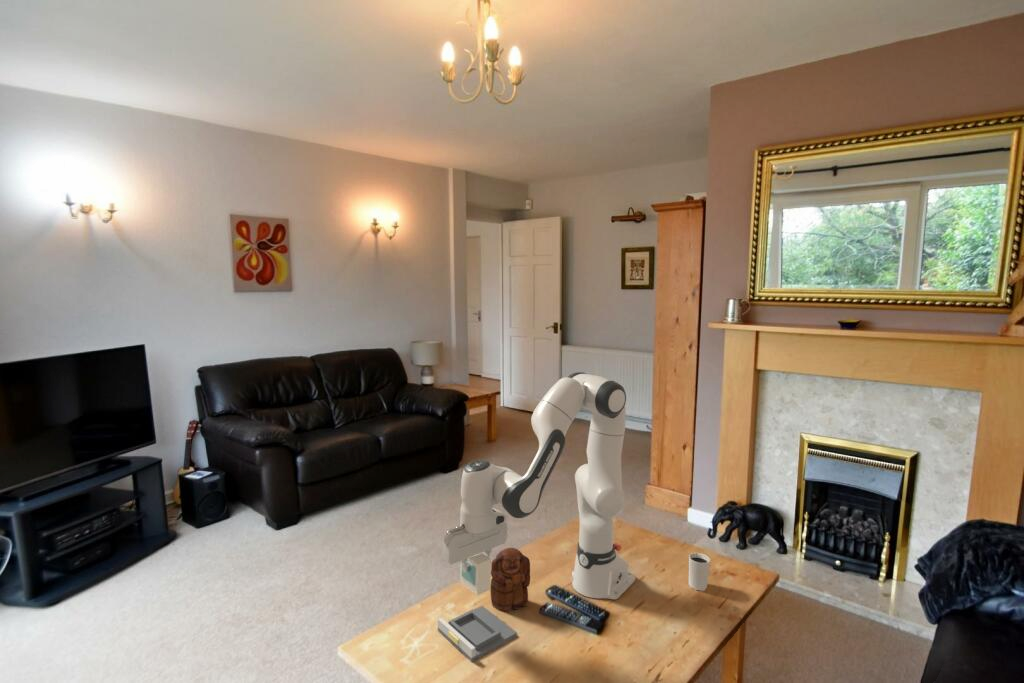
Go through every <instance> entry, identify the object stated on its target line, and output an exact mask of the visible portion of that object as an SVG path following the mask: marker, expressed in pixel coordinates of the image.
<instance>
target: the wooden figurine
mask: <svg viewBox="0 0 1024 683" xmlns="http://www.w3.org/2000/svg"><path fill="white" fill-rule="evenodd" d="M491 577H492V578H491V579H490V600H491V605H492V607H494V608H495V609H496V610H497V611H501V612H511V610H519V609H521V607H525V606H526V607H528V604H529V591H528V587H529V586H530V584H531V562H530V559H529V557H528V556H526V555H524V554H523V553H522V551H521V550H519V549H517V548H516V547H507V548H504V549H502V550H501V551H499V553H497V555H496V557H495V558H493V560H491Z"/></svg>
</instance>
